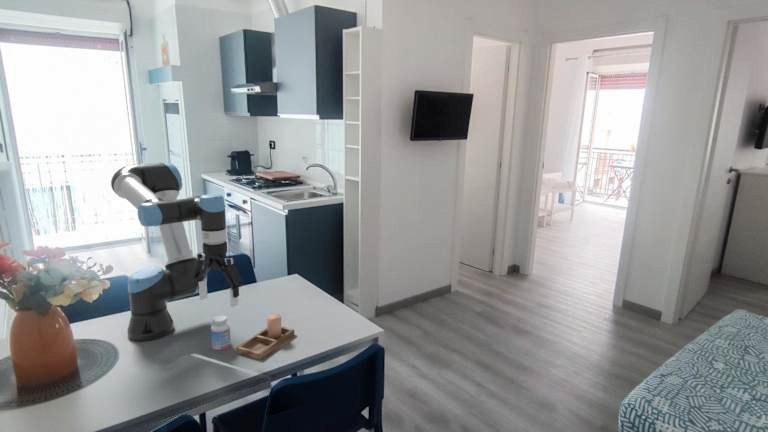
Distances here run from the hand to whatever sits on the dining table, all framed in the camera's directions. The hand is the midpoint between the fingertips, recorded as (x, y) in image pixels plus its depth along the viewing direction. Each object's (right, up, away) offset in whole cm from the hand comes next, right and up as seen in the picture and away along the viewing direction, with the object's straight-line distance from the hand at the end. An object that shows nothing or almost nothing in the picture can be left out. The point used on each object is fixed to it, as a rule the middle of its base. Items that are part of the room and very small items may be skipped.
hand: (218, 302), depth 146 cm
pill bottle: (-1, -17, +4) cm, 17 cm away
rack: (+15, -17, +6) cm, 23 cm away
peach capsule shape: (+16, -15, +10) cm, 24 cm away
